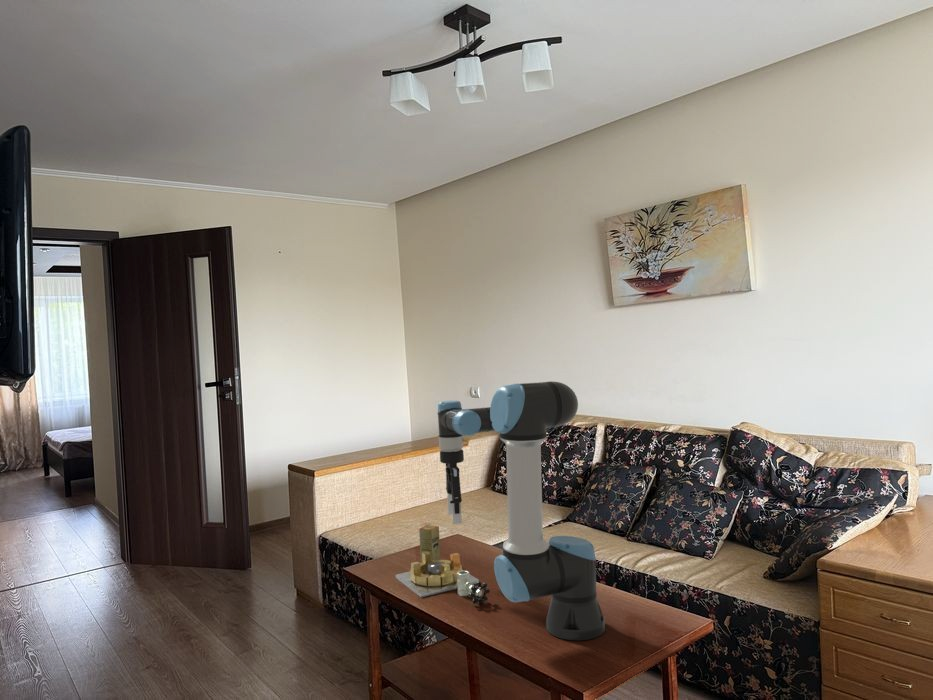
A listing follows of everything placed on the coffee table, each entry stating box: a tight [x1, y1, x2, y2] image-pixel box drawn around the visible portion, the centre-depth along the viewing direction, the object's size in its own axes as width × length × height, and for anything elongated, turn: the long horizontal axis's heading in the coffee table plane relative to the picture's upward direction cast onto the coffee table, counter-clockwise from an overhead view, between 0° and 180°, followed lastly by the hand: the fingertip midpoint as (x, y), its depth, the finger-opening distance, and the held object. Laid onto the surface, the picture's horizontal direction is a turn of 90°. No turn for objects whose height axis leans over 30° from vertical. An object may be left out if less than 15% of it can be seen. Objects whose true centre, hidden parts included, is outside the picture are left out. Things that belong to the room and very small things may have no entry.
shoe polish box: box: [418, 524, 441, 563], centre depth 223 cm, size 5×5×12 cm
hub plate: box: [395, 562, 480, 598], centre depth 206 cm, size 20×20×5 cm
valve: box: [457, 570, 491, 606], centre depth 190 cm, size 7×7×12 cm
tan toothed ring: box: [409, 551, 463, 586], centre depth 206 cm, size 16×16×6 cm
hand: (454, 518), depth 204 cm, fingers open, 11 cm apart
